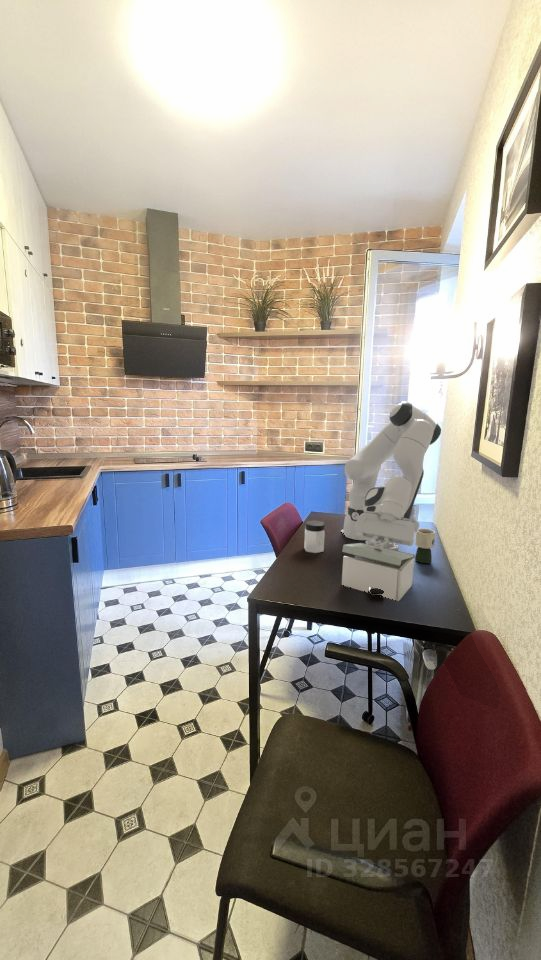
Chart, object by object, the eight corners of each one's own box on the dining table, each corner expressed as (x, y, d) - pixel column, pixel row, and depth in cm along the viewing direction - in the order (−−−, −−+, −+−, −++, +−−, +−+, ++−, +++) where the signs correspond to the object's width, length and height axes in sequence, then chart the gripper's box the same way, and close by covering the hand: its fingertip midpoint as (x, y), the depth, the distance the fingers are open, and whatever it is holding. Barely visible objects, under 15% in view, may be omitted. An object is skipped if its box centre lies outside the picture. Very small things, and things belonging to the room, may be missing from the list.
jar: (311, 554, 172) (312, 527, 170) (299, 548, 179) (300, 522, 177) (328, 550, 177) (329, 523, 175) (315, 545, 184) (317, 519, 182)
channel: (358, 571, 156) (360, 542, 154) (412, 585, 145) (415, 554, 143) (341, 584, 144) (343, 553, 142) (398, 601, 133) (401, 567, 130)
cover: (358, 549, 153) (359, 543, 153) (412, 561, 142) (413, 554, 142) (342, 551, 140) (343, 544, 140) (399, 565, 129) (400, 557, 129)
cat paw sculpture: (364, 555, 173) (365, 535, 171) (396, 558, 170) (398, 538, 168) (364, 564, 163) (365, 543, 161) (398, 568, 160) (400, 546, 158)
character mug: (434, 567, 161) (437, 536, 158) (415, 566, 162) (418, 534, 160) (430, 557, 171) (433, 527, 169) (412, 556, 172) (414, 526, 170)
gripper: (421, 525, 139) (411, 561, 133) (363, 515, 150) (351, 548, 144) (419, 515, 135) (408, 552, 128) (360, 505, 146) (347, 539, 139)
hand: (377, 550), depth 136 cm, fingers closed, pressing on cover
